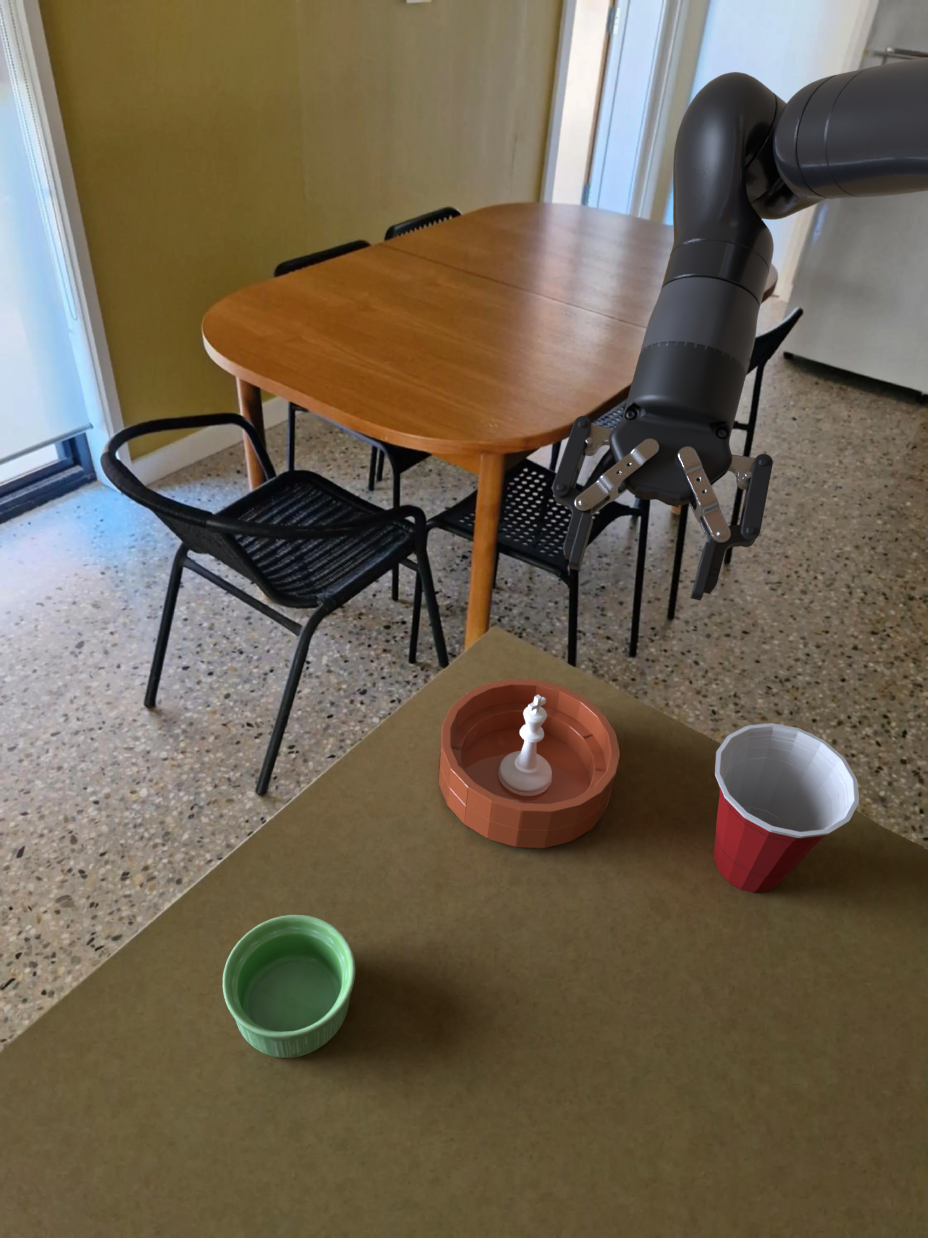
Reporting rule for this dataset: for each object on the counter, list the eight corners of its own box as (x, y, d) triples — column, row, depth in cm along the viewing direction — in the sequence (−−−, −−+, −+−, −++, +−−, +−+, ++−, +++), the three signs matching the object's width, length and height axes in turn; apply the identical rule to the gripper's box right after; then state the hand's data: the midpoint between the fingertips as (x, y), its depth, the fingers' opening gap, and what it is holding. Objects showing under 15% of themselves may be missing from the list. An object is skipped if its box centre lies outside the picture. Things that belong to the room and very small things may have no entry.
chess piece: (487, 770, 81) (497, 692, 75) (526, 747, 84) (539, 669, 77) (523, 805, 78) (536, 726, 72) (563, 779, 81) (579, 701, 75)
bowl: (637, 770, 83) (649, 730, 80) (553, 884, 73) (562, 843, 70) (499, 696, 90) (504, 656, 86) (403, 791, 79) (405, 750, 76)
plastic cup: (656, 857, 76) (688, 763, 68) (729, 795, 82) (766, 702, 74) (764, 948, 70) (812, 856, 62) (835, 874, 76) (887, 781, 68)
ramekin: (381, 991, 65) (381, 959, 62) (296, 1095, 59) (293, 1065, 56) (289, 925, 69) (286, 892, 66) (201, 1017, 63) (193, 985, 60)
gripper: (592, 319, 60) (529, 547, 59) (807, 359, 57) (746, 599, 56) (595, 365, 67) (539, 568, 66) (786, 402, 65) (732, 616, 63)
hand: (634, 582), depth 61 cm, fingers open, 8 cm apart
